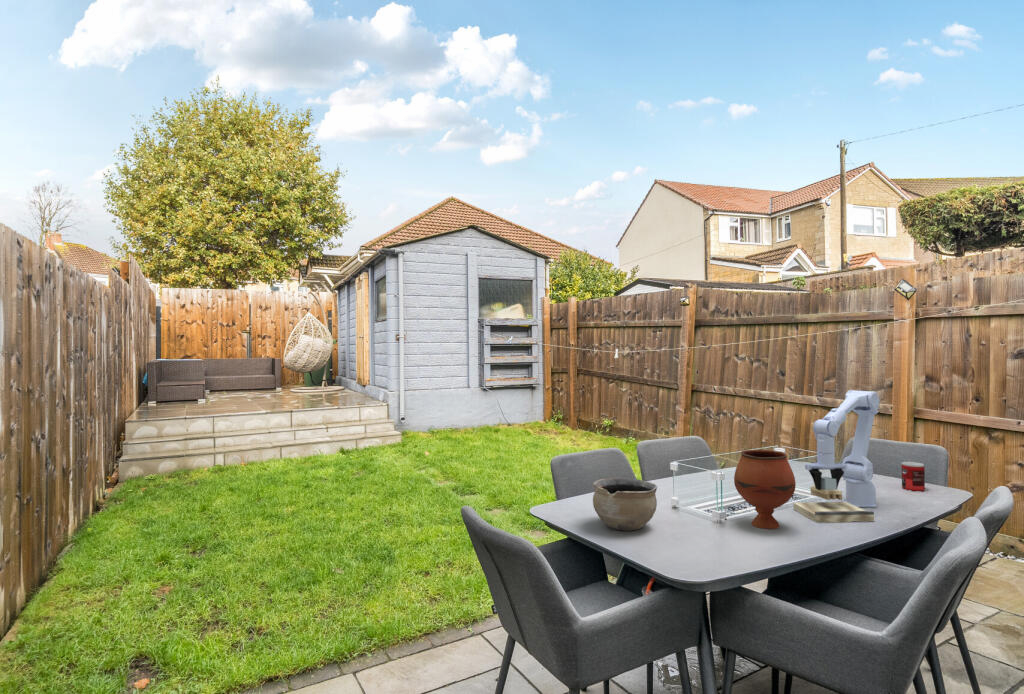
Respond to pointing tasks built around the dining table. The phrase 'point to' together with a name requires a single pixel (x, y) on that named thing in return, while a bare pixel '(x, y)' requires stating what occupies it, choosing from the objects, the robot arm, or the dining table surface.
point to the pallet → (826, 493)
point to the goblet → (764, 483)
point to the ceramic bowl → (624, 502)
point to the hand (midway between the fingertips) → (826, 489)
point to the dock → (833, 512)
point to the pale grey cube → (828, 483)
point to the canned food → (913, 476)
